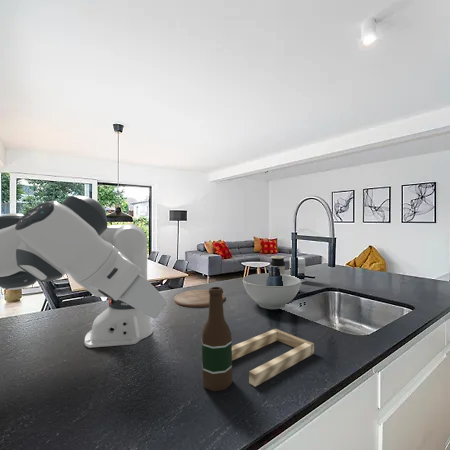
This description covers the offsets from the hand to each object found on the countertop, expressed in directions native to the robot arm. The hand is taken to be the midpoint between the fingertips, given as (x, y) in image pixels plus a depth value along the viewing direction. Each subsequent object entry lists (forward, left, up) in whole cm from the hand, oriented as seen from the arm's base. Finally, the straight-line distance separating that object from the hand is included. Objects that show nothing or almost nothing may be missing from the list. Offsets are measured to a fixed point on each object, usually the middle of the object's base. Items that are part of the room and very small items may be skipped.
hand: (155, 311), depth 60 cm
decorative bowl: (+58, +55, -22) cm, 83 cm away
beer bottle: (+15, +6, -22) cm, 27 cm away
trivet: (+29, +76, -22) cm, 84 cm away
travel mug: (+76, +80, -22) cm, 112 cm away
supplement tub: (+96, +90, -22) cm, 133 cm away
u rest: (+32, +12, -22) cm, 41 cm away
